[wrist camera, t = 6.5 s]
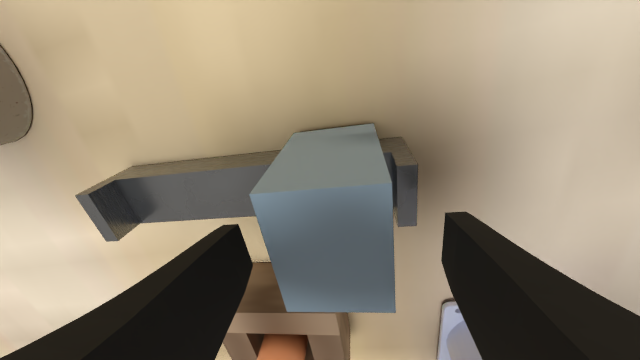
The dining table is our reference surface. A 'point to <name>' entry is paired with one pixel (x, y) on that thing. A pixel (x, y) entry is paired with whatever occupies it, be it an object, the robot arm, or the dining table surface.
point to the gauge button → (283, 347)
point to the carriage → (330, 221)
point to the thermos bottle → (12, 102)
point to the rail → (216, 190)
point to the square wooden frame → (283, 322)
